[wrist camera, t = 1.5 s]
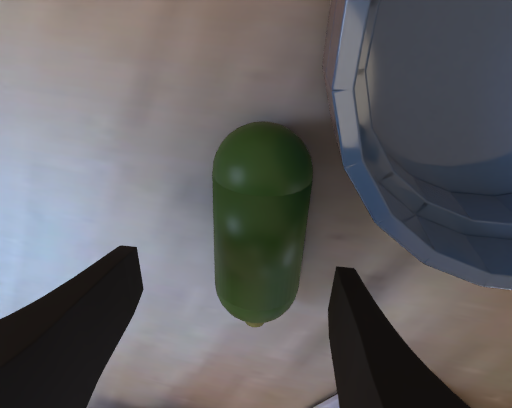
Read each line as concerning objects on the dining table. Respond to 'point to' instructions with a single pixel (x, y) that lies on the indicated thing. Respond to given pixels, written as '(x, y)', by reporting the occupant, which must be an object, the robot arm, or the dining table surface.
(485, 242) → the bowl
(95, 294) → the robot arm
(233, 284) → the zucchini
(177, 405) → the dining table surface
